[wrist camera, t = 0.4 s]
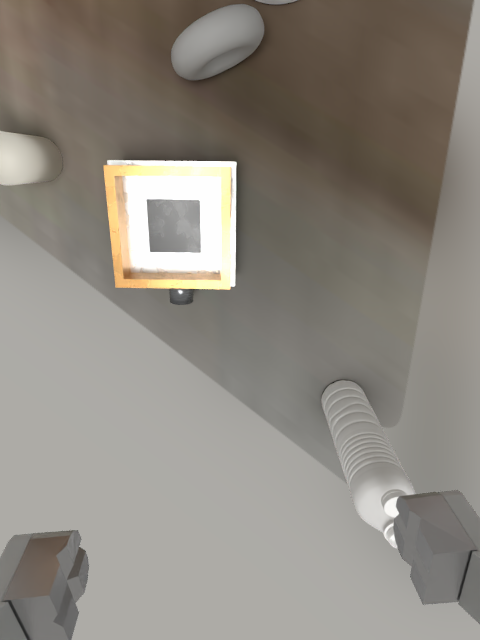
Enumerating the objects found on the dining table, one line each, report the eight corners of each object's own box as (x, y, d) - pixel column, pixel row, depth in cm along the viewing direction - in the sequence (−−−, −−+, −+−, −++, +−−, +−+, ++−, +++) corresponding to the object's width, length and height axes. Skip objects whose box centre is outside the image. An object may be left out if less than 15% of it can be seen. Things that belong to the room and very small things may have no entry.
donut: (255, 19, 44) (258, -20, 35) (267, 53, 46) (272, 24, 36) (173, 61, 46) (155, 34, 37) (186, 92, 47) (172, 75, 38)
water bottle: (366, 411, 62) (439, 560, 39) (324, 419, 63) (371, 570, 40) (359, 362, 59) (433, 490, 36) (315, 370, 60) (359, 503, 36)
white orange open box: (122, 160, 50) (97, 159, 41) (237, 162, 50) (235, 161, 41) (134, 293, 56) (114, 316, 47) (235, 294, 56) (234, 318, 47)
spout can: (71, 163, 50) (38, 163, 42) (43, 190, 51) (6, 195, 43) (17, 101, 48) (-28, 89, 40) (-11, 132, 49) (-61, 126, 41)
